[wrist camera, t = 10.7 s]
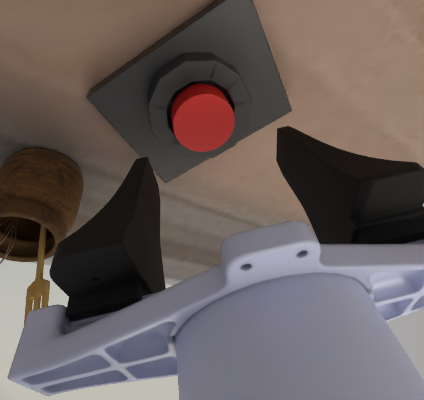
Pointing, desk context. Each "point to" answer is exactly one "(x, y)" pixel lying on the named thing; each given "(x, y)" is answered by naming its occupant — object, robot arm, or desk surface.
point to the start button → (202, 118)
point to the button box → (190, 75)
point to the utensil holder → (37, 211)
